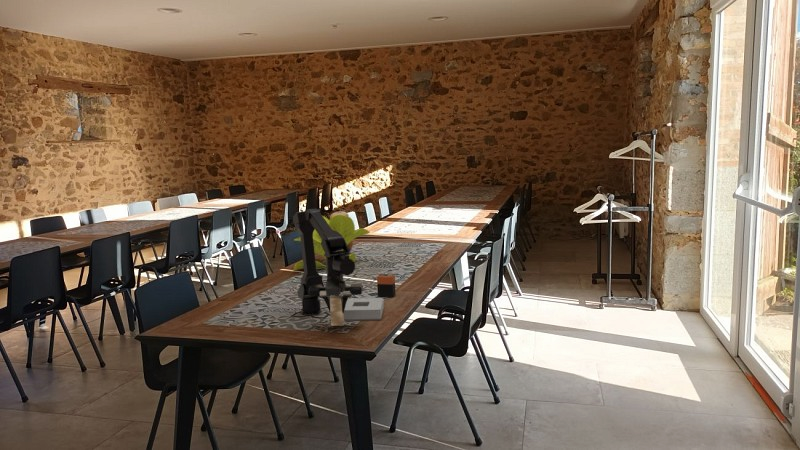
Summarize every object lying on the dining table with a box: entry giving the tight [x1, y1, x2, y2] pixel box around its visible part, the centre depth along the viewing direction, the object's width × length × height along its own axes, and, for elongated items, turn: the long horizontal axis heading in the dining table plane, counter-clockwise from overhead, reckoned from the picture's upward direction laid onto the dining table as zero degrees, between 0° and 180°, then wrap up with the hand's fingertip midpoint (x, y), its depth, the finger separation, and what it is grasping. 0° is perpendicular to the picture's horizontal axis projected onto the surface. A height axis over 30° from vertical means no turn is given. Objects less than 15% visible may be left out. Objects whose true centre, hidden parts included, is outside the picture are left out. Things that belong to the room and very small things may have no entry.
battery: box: [376, 271, 397, 298], centre depth 261 cm, size 4×7×10 cm, turn 73°
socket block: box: [343, 297, 385, 322], centre depth 236 cm, size 16×16×4 cm
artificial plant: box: [292, 215, 370, 272], centre depth 318 cm, size 42×43×30 cm
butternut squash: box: [329, 210, 354, 253], centre depth 355 cm, size 14×13×25 cm
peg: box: [329, 294, 345, 327], centre depth 221 cm, size 4×4×10 cm
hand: (337, 313), depth 221 cm, fingers closed on peg, 4 cm apart
